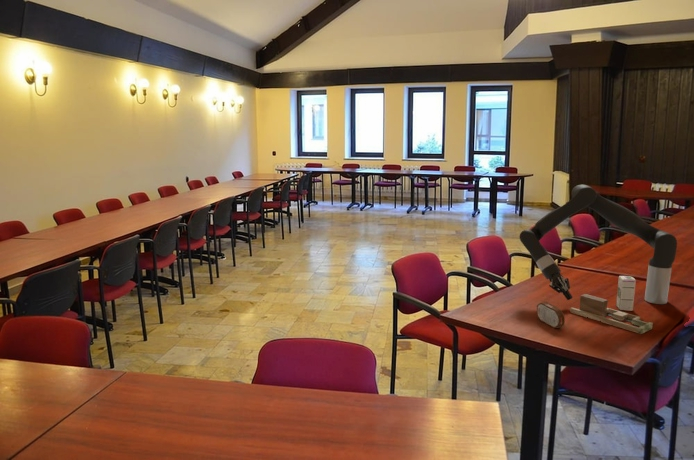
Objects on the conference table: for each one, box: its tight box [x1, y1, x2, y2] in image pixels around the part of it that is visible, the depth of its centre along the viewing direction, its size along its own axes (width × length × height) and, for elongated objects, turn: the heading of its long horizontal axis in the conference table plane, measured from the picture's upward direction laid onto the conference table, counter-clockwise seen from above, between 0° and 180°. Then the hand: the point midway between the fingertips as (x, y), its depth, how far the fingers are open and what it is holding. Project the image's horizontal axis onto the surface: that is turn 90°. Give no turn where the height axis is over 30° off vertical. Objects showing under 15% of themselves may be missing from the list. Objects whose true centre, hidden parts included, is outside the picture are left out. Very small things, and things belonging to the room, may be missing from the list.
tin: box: [536, 301, 566, 329], centre depth 218 cm, size 15×3×8 cm, turn 17°
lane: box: [569, 307, 654, 335], centre depth 225 cm, size 14×30×2 cm, turn 37°
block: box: [578, 293, 609, 318], centre depth 229 cm, size 4×10×8 cm, turn 37°
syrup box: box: [615, 275, 637, 312], centre depth 237 cm, size 6×6×14 cm
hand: (570, 299), depth 237 cm, fingers closed
